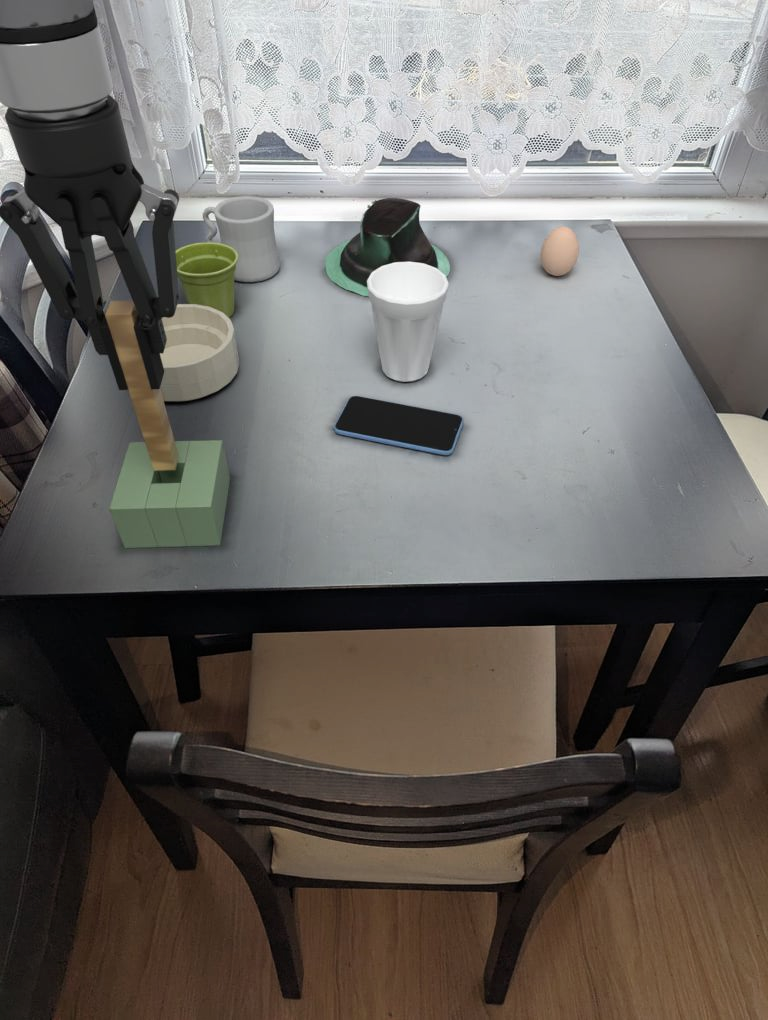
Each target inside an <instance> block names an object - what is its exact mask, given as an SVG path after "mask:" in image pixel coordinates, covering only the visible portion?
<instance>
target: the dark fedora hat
mask: <svg viewBox="0 0 768 1020" xmlns="http://www.w3.org/2000/svg"><path fill="white" fill-rule="evenodd" d="M420 209H421V204H419V203H418V202H416V201H413V200H409V199H405V198H401V197H400V198H398V197H386V198H381V199H378V200H374V201H371V205H370V204H367V209H366V210H365V211H364V213H362V215H361V219H360V227H359V232H358V233H357V234H355V235H354V236H353V237H352V238H350V239H348V240H346V241H344V242H342V243H340V244H339V245H337V246H336V247H334V248H333V249H332V250H330V252H328V254H327V256H326V258H325V261H324V263H325V265H324V266H325V267H324V268H325V272H326V275H327V276H328V278H329V280H330V281H332V283H334V284H336V285H337V286H339V287H340V288H342V289H344V290H346V291H350V292H353V293H355V294H358V295H360V296H363V297H369V294H368V286H367V280H368V278H369V276H370V274H371V273H372V272H373V271H375V270H376V269H378V268H380V267H381V266H384V265H387V264H391V263H395V262H416V263H424V264H427V265H429V266H432V267H435V268H437V269H438V270H439V271H441V272H442V273H443V274H444V275H445V276H446V278H448V276H449V273H450V271H451V265H450V261H449V259H448V258H447V256H446V254H444V252H443V251H442V250H440V249H439V248H438V247H436V246H435V245H433V244H431V243H430V241H429V238H428V237H427V235H426V234H425V232H424V230H423V228H422V226H421V223H420Z"/></svg>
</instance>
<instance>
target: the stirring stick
mask: <svg viewBox="0 0 768 1020" xmlns="http://www.w3.org/2000/svg"><path fill="white" fill-rule="evenodd" d="M105 312H106V313H105ZM105 312H104V314H105V317H106V320H107V323H108V326H109V329H110V332H111V336H112V339H113V342H114V345H115V348H116V351H117V355H118V358H119V361H120V364H121V367H122V371H123V374H124V377H125V380H126V383H127V386H128V390H127V391H128V393H129V396H130V399H131V402H132V405H133V409H134V412H135V415H136V418H137V421H138V425H139V428H140V431H141V435H142V438H143V442H145V444H146V447H147V450H148V453H149V457H150V460H151V463H152V466H153V469H154V471H162V470H176V465H177V461H178V456H179V455H178V452H177V448H176V444H175V441H176V440H175V437H174V433H173V431H172V427H171V423H170V420H169V419H170V418H169V415H168V411H167V409H166V405H165V401H163V397H162V393H161V390H160V389H151V387H150V383H149V380H148V376H147V373H146V369H145V366H144V362H143V359H142V355H141V352H140V348H139V345H138V341H137V338H136V334H135V331H134V328H133V327H134V325H135V322H136V320H137V317H138V312H137V310H136V307H135V305H134V302H133V300H110V301H109V303H108V306H107V308H106V310H105Z"/></svg>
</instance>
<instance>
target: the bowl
mask: <svg viewBox="0 0 768 1020" xmlns="http://www.w3.org/2000/svg"><path fill="white" fill-rule="evenodd" d="M162 322H163V326H164V330H165V334H166V338H167V342H166V346H165V349H164V353H160V356H161V360H162V364H163V368H164V375H163V379H162V382H161V386H160V390H161V393H162V397H163V401H164V402H187V401H193V400H198V399H201V398H204V397H207V396H209V395H212V394H214V393H217V392H219V391H220V390H221V389H223V388H224V387H225V386H227V385H228V384H229V383H231V382H232V380H233V379H234V378H235V377H236V375H237V374H238V371H239V368H240V367H239V366H240V357H239V351H238V343H237V338H236V332H235V327H234V325H233V322H232V319H231V318H228V317H227V316H226V315H225V314H224V313H223V312H221V311H218V310H216V309H214V308H211V307H208V306H203V305H197V304H188V303H182V304H181V303H178V304H177V307H176V311H175V314H174V316H173V317H171V318H167V317H163V318H162Z"/></svg>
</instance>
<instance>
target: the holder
mask: <svg viewBox="0 0 768 1020" xmlns="http://www.w3.org/2000/svg"><path fill="white" fill-rule="evenodd" d="M174 441H175V444H176V448H177V452H178V455H179V456H178V461H177V465H176V470H162V471H154V469H153V466H152V463H151V460H150V457H149V453H148V450H147V447H146V444H145V441H130V442H129V443H128V445H127V449H126V451H125V452H126V453H125V455H124V459H123V462H122V466H121V469H120V472H119V476H118V479H117V483H116V486H115V489H114V492H113V495H112V499H111V502H110V506H109V512H110V515H111V517H112V520H113V522H114V525H115V528H116V530H117V532H118V535H119V538H120V540H121V543H122V545H123V548H124V549H139V548H141V549H144V548H175V547H176V548H177V547H181V548H182V547H207V546H208V547H209V546H210V547H212V546H213V547H214V546H221V543H222V537H223V530H224V524H225V517H226V516H225V515H226V510H227V504H228V498H229V497H228V496H229V490H230V483H231V476H230V471H229V467H228V462H227V458H226V453H225V447H224V444H223V443H224V442H223V440H222V439H215V440H174Z"/></svg>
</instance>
